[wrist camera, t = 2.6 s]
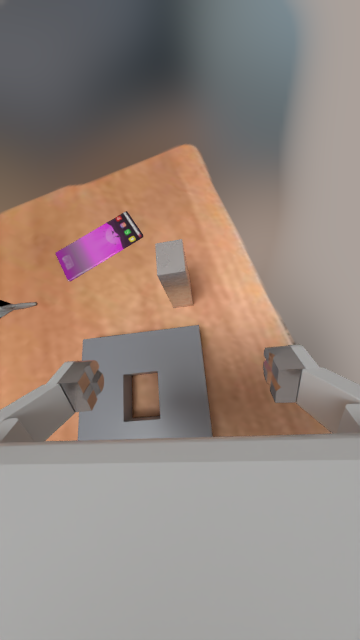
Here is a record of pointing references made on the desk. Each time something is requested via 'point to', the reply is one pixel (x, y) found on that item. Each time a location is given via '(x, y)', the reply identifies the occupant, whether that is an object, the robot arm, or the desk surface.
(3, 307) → the toy airplane
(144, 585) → the robot arm
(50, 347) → the desk surface
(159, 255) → the grey square post
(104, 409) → the block
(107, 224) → the smartphone
